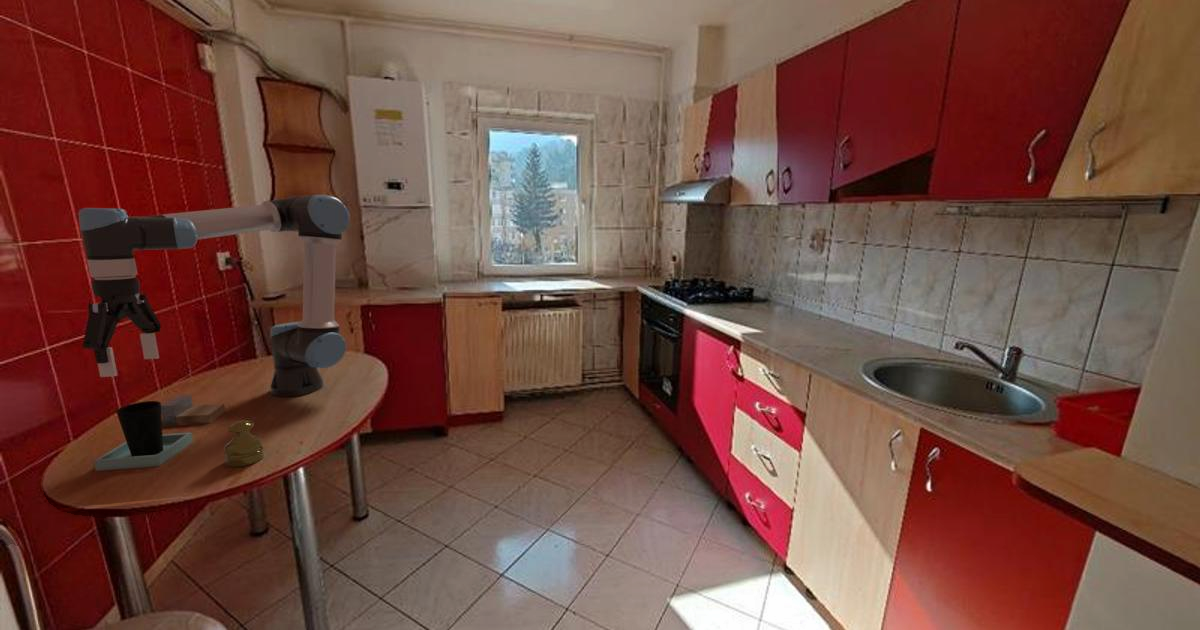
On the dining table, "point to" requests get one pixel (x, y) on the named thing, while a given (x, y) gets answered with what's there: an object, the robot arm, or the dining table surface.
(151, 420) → the cup
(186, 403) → the block
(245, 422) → the olive yellow vase
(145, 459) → the tray
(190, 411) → the tan square block
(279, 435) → the dining table surface
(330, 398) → the dining table surface
